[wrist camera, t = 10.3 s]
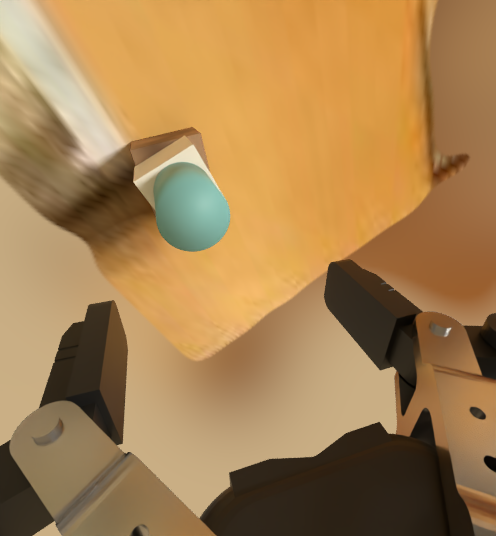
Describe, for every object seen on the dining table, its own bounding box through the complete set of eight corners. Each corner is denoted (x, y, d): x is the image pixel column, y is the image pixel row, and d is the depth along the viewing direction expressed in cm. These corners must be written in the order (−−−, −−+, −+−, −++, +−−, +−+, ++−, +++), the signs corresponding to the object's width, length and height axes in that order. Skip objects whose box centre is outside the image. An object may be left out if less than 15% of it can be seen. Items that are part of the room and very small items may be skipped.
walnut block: (192, 127, 29) (200, 133, 25) (207, 185, 33) (216, 199, 29) (131, 141, 28) (129, 150, 24) (153, 200, 32) (155, 217, 28)
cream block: (184, 135, 25) (193, 144, 21) (214, 185, 28) (227, 202, 24) (134, 166, 25) (133, 182, 21) (169, 214, 28) (174, 235, 24)
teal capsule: (210, 159, 22) (227, 178, 17) (215, 216, 24) (231, 245, 20) (147, 164, 21) (149, 186, 16) (159, 223, 23) (163, 256, 18)
